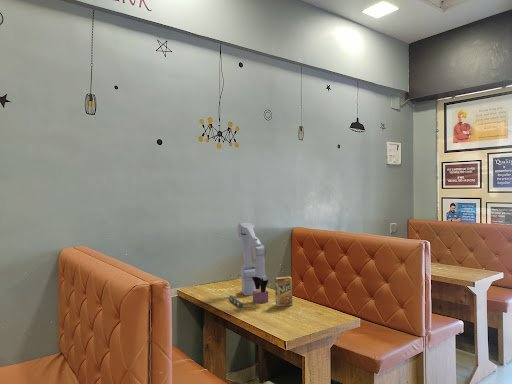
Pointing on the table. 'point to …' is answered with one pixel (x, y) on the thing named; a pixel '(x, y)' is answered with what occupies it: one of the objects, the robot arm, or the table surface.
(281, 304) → the candy box
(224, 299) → the table surface
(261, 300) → the carton
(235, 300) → the price rail
